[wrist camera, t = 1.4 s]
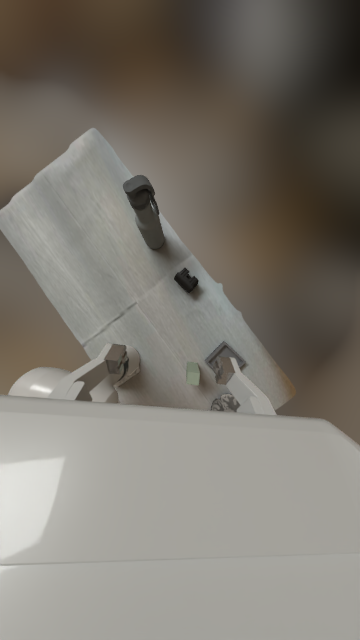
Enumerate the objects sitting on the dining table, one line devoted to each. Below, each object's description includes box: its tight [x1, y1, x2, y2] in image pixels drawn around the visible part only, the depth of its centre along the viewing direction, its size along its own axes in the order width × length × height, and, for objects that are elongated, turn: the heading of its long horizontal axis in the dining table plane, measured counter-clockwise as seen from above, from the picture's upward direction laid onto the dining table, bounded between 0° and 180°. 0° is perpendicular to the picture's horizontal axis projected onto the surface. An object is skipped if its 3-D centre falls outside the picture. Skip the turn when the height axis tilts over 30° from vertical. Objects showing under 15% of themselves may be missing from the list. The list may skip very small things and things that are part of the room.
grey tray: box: [205, 341, 245, 370], centre depth 64 cm, size 14×14×3 cm
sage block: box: [186, 362, 200, 385], centre depth 60 cm, size 5×5×13 cm
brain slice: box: [211, 394, 241, 412], centre depth 64 cm, size 20×17×3 cm
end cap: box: [174, 268, 198, 293], centre depth 63 cm, size 10×7×7 cm
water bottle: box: [123, 175, 164, 249], centre depth 53 cm, size 10×10×28 cm
